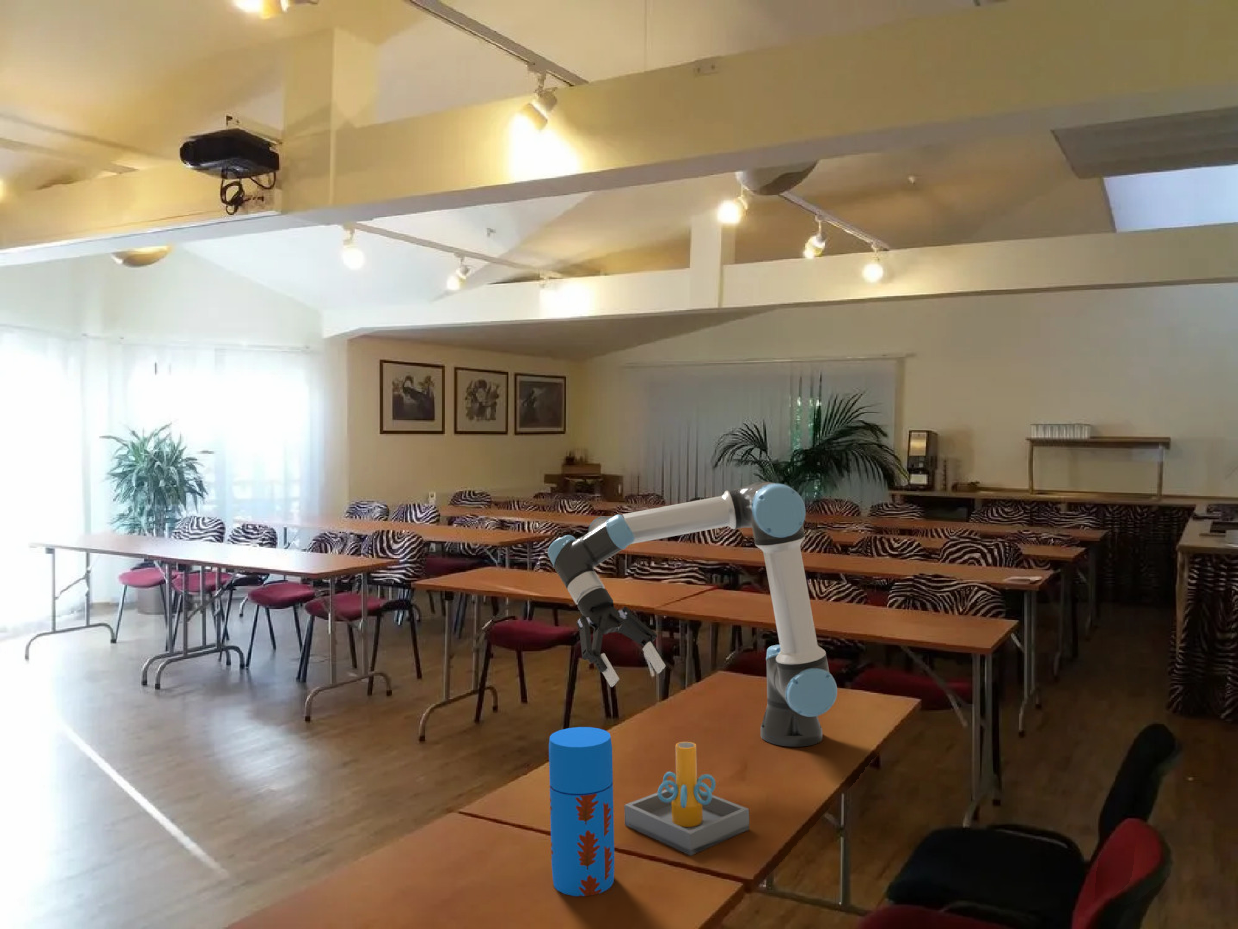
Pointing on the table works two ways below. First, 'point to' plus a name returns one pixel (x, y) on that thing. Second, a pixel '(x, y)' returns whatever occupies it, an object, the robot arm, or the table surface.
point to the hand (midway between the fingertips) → (638, 676)
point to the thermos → (581, 810)
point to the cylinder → (686, 788)
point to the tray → (715, 827)
